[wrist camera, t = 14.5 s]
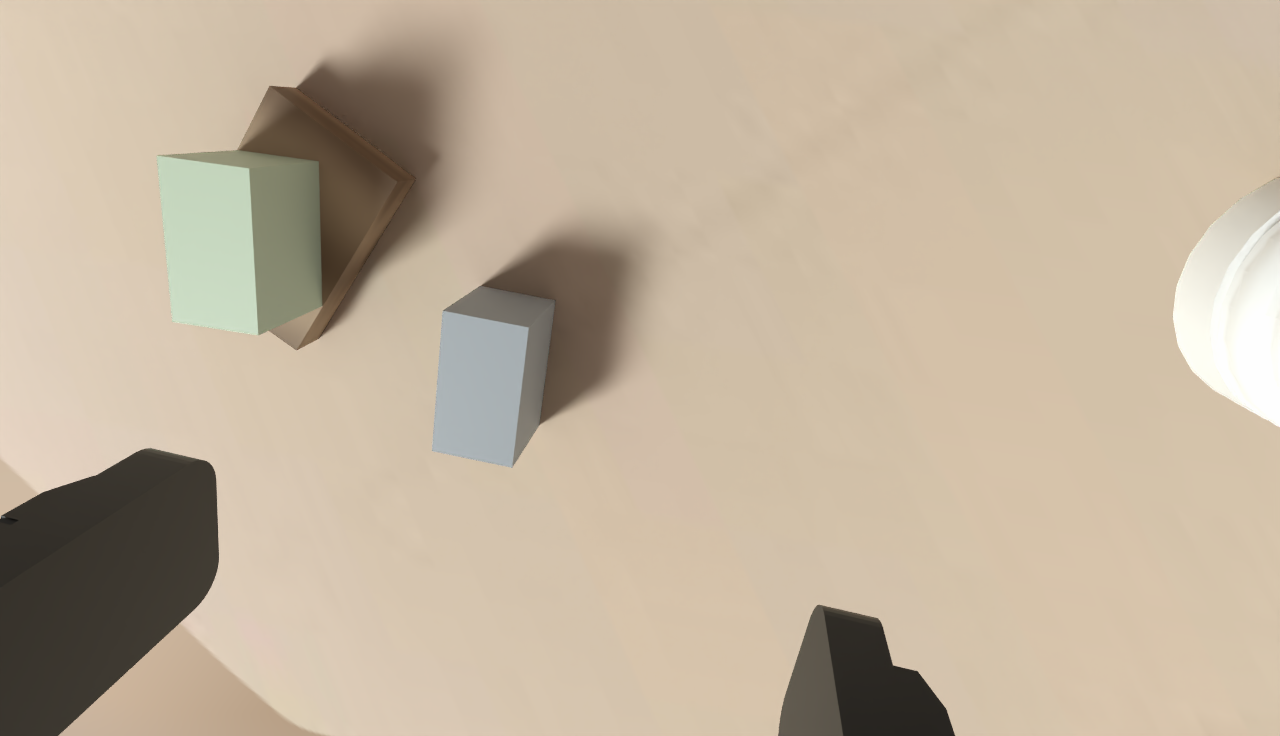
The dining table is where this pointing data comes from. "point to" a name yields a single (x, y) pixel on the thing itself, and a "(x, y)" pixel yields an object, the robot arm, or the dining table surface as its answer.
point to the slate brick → (491, 374)
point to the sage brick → (241, 238)
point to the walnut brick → (330, 193)
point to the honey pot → (1236, 304)
